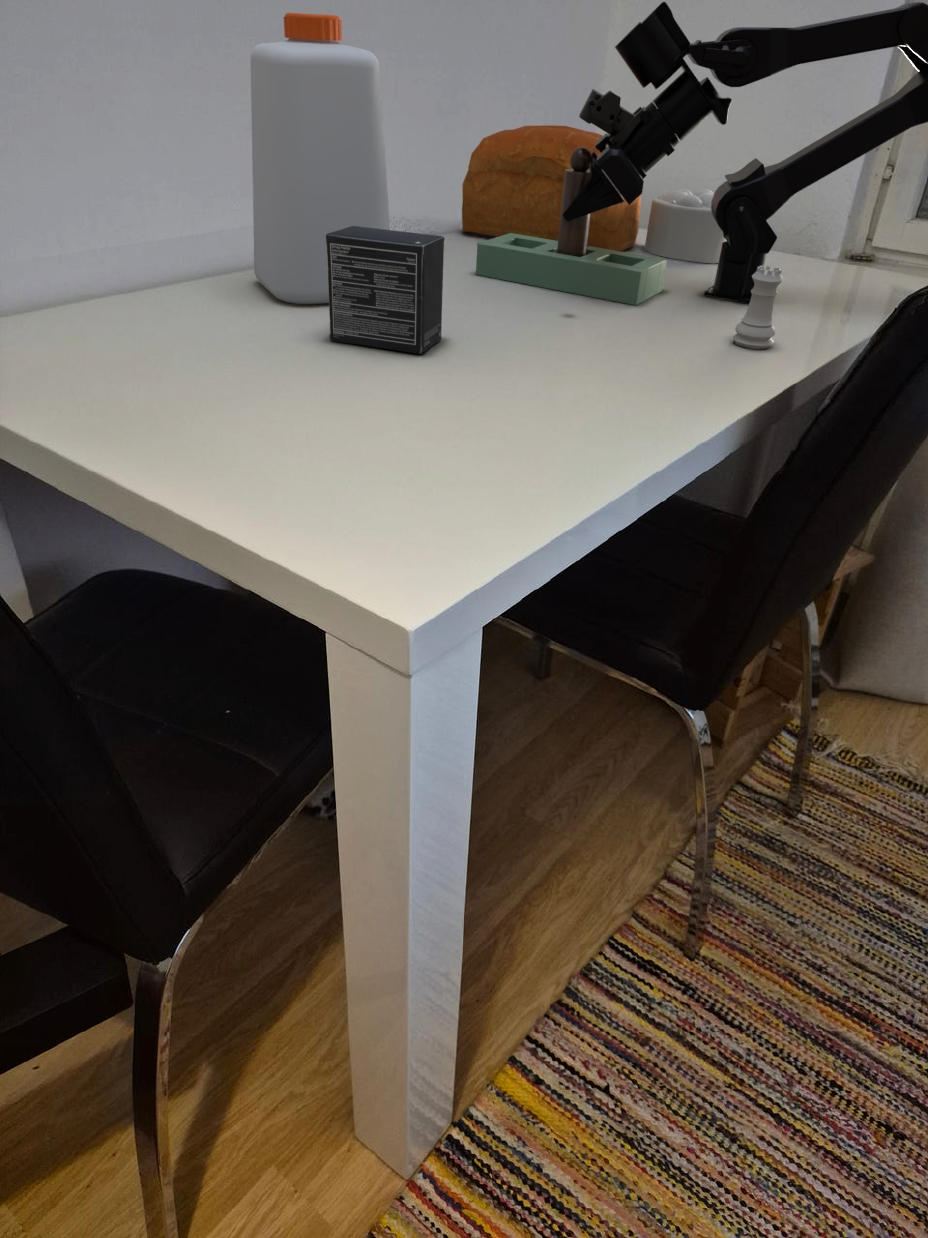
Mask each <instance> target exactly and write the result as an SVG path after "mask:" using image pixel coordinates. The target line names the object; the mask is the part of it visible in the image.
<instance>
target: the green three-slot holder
mask: <svg viewBox="0 0 928 1238" xmlns="http://www.w3.org/2000/svg"><path fill="white" fill-rule="evenodd" d="M476 244H477V245H476V247H477V248H476V261H475V263H476V264H475V275H477V276H481V277H486V278H490V279H491V278H492V279H497V280H502V281H507V282H513V283H519V284H522V285H528V286H533V287H539V288H544V289H548V290H549V289H550V290H555V291H559V292H565V293H570V294H574V295H579V296H586V297H591V298H596V299H601V300H606V301H612V302H615V303H616V302H617V303H622V304H627V305H632V306H637V305H640V304H641V303H643V302H644V301H646V300H649V299H650V298H652V297H654V296H656V295H658V294H660V293H661V292H663V287H664V283H665V276H666V270H667V264H668V258H663V257H656V256H651V255H645V254H638V253H633V252H626V251H615V250H609V249H603V248H597V247H591V246H587V249H586V255H585V256H582V257H577V256H571V255H565V254H559V253H557V246H558V241H555V240H549V239H543V238H537V237H531V236H525V235H519V234H513V233H509V234H506V235H503V236H499V237H494V238H490V239H487V240H483V241H480V242H477V243H476Z"/></svg>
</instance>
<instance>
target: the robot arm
mask: <svg viewBox="0 0 928 1238" xmlns="http://www.w3.org/2000/svg"><path fill="white" fill-rule="evenodd" d="M896 47H897V48H898V49H899V50H900V51H901V52H902V54H903V55H904V56H905V57H906V58H907V60H908V61H909V62H910V63H911V65H912V66H913V67H914V68H915V70H917V71H918V72H916V73H915V74H914V75H913V76H912V77H911V78H910V79H909V80H907V82H906V83H905V84H904V85H903V86H902V87H901V88H900V89H899V90H898V91H897V92H896V93H894V94H893V95H892V96H890V97H888V98H886V99H885V100H883V101H881V102H880V103H878V104H876V105H875V106H873V107H871V108H869V109H868V110H866V111H865V112H863V113H861V114H859V115H858V116H856V117H853V118H852V119H851V120H849V121H848V122H845V123H844V124H843V125H840V126H839V127H837V128H836V129H834V130H832V131H830V132H829V133H827V134H825V135H824V136H822V137H820V138H819V139H817V140H815V141H813V142H811V143H810V144H808V145H807V146H805V147H803V148H802V149H800V150H798V151H797V152H795V153H793V154H792V155H790V156H788V157H786V158H785V159H783V160H781V161H780V162H777V163H774V164H770V165H768V166H765V165H764V163H763V162H762V161H760V160H759V159H758V158H757V157H756V158H753V159H752V160H751V161H749V162H748V163H747V164H746V165H745V166H743V167H742V168H741V169H739V170H738V171H735V172H732V173H729V174H725V175H724V178H725V179H726V180H725V181H724V182H723V183H721V184H720V185H719V186H718V187H717V188H716V190H715V191H714V192H713V193H714V196H713V199H712V201H711V211H712V215H713V217H714V219H715V221H716V223H717V224H718V226H719V227H720V229H721V230H722V231H723V237H724V238H725V239H726V240H727V241H725V242H723V243H722V248H721V253H720V258H719V263H717V269H716V274H715V278H714V284H713V285H712V286H710V287H709V288H707V289H706V290H704V293H703V295H704V296H708V297H711V298H712V297H713V298H718V299H723V300H729V301H735V302H741V303H745V304H749V303H750V300H751V296H752V293H751V290H752V289H753V288H754V284H755V283H754V281H753V278H752V275H753V274H754V273H755V272H756V271H757V267H759V266H764V267H765V263H766V260H767V254H769V253H770V252H771V250H772V248H773V246H774V245H775V243H776V242H777V239H778V235H777V234H776V233H775V232H774V231H775V230H774V229H773V228H772V227H771V225H770V224H769V223H768V221H767V220H769V219H770V218H771V217H773V216H774V215H775V214H776V213H777V212H778V211H779V210H780V209H781V208H782V207H783V206H784V205H785V204H786V203H787V202H788V201H789V200H790V199H791V198H792V197H794V196H795V195H796V194H797V193H799V192H801V191H803V190H805V189H806V188H808V187H810V186H812V185H813V184H815V183H817V182H819V181H820V180H822V179H823V178H825V177H827V176H829V175H832V173H834V172H836V171H838V170H839V169H841V168H843V167H844V166H847V165H849V164H850V163H851V162H853V161H855V160H858V159H859V158H861V157H862V156H864V155H866V154H867V153H870V152H871V151H873V150H874V149H876V148H878V147H880V146H882V145H883V144H885V143H887V142H888V141H890V140H892V139H894V138H896V137H897V136H899V135H901V134H902V133H904V132H906V131H908V130H909V129H911V128H914V127H917V126H919V125H923V124H926V123H928V4H927V3H925V2H917V1H916V2H907V3H903V4H901V5H900V6H899V5H898V6H896V7H895V8H889V9H884V10H879V11H872V12H868V13H863V14H858V15H853V16H848V17H842V18H837V19H832V20H831V19H830V20H826V21H822V22H817V23H816V22H815V23H811V24H806V25H805V24H804V25H801V26H796V27H795V26H794V27H764V26H763V27H759V26H757V27H754V26H753V27H750V26H749V27H746V26H742V27H741V26H739V27H738V26H737V27H731V28H729V29H727V30H724V31H723V32H722V33H720V35H718V36H717V38H716V39H715V40H711V41H702V40H701V39H697V40H695V41H694V42H692V43H691V42H690V40H689V39H688V38H687V36H686V34H685V33H684V31H683V30H682V28H681V27H680V25H679V24H678V22H677V21H676V19H675V17H674V14H673V11H672V9H671V8H670V6H669V5H668V3H667V2H666V1H662V2H661V3H660V4H659V5H658V6H657V7H656V8H654V10H652V11H651V12H650V14H648V15H647V16H646V17H645V18H644V19H643V20H642V21H639V22H638V23H637V24H635V25H634V27H633V28H632V29H631V30H630V31H629V32H628V33H626V35H625V36H624V37H623V38H622V39H620V41H618V43H617V44H616V45H614V48H615V50H616V52H617V53H618V54H619V56H620V57H621V58H622V60H623V62H624V63H625V65H626V66H627V67H628V69H629V70H630V72H631V73H632V75H633V76H634V77H635V79H636V80H637V81H638V83H639V85H640V86H641V87H642V88H643V89H644V88H646V87H647V86H649V85H650V84H651V85H652V86H653V88H654V89H655V90H657V89H659V88H660V87H661V86H663V85H664V84H665V83H666V82H667V81H668V80H669V79H670V78H671V77H672V76H674V74H676V72H677V71H679V69H682V71H683V72H681V73H680V74H679V75H678V76H677V77H676V78H675V79H674V80H673V81H672V82H671V83H670V84H669V85H668V86H667V87H665V88H664V89H663V90H662V91H661V93H659V94H658V95H657V96H656V97H655V98H653V100H652V101H650V102H649V104H647V105H646V107H645V106H643V107H642V106H639V107H638V108H637V109H636V110H635V111H633V112H630V111H629V110H628V109H626V108H624V107H623V106H621V99H622V97H621V96H620V95H617V94H616V93H614V92H612V91H611V90H608V91H607V92H606V93H604V94H603V93H601V92H599V91H598V90H596V89H595V88H592V89H591V91H590V93H589V95H588V97H587V99H586V100H585V103H584V105H583V107H582V109H581V110H580V113H579V118H580V119H581V120H582V121H584V122H585V123H587V124H589V125H591V124H592V125H594V126H595V127H597V128H598V129H600V130H601V131H603V132H605V133H604V134H603V137H602V138H600V139H599V140H598V141H597V142H596V143H595V144H594V145H595V147H596V149H597V150H599V151H600V152H601V153H600V154H599V155H598V156H597V155H596V154H595V152H594V151H592V158H593V161H592V164H591V166H590V170H591V177H590V179H589V180H588V182H587V183H586V184H585V185H584V187H583V188H582V189H581V191H580V192H579V193H578V194H577V196H576V197H575V198H574V200H573V201H572V202H571V203H570V205H569V206H568V207H567V209H566V210H565V211H564V213H563V217H564V219H565V220H566V221H571V220H574V219H576V218H579V217H582V216H585V215H587V214H590V213H593V212H596V211H598V210H601V209H604V208H607V207H610V206H613V205H616V204H619V203H623V202H624V199H625V200H626V202H627V203H628V204H629V205H630V204H631V203H632V202H633V201H634V200H635V199H636V198H638V197H639V196H640V195H641V196H642V194H643V189H644V183H645V182H644V179H645V178H646V177H647V173H648V172H649V171H650V170H651V169H652V168H653V167H654V166H655V165H656V164H658V163H659V162H660V161H661V160H662V159H663V158H664V157H665V156H667V157H669V156H670V155H672V154H673V153H674V152H675V151H676V150H675V147H677V145H678V144H680V143H681V142H682V141H683V140H684V139H685V138H686V137H688V135H689V134H691V133H692V132H693V131H694V130H696V129H697V127H699V125H701V124H702V123H704V121H705V120H706V119H707V118H708V117H709V116H711V115H713V117H714V118H715V120H716V121H717V122H718V123H719V124H721V125H722V126H725V125H727V123H728V116H729V109H730V106H731V104H732V102H733V99H732V98H731V97H728V96H727V97H722V96H721V95H720V94H719V92H718V90H717V89H716V87H715V85H714V84H713V83H712V81H711V80H710V78H709V77H708V76H707V77H705V78H703V79H702V80H699V79H698V78H697V77H696V75H695V73H693V71H692V69H691V68H690V66H689V65H688V63H687V62H686V60H685V59H684V58H685V57H686V56H687V57H688V58H689V60H690V61H691V63H692V64H694V65H696V66H699V67H701V68H706V69H709V71H710V73H711V75H712V76H713V78H714V79H715V80H716V81H717V82H718V83H720V84H722V85H724V86H725V87H729V88H742V87H745V86H748V85H750V84H753V83H755V82H758V81H761V80H763V79H766V78H769V77H772V76H773V75H776V74H778V73H780V72H783V71H785V70H787V69H790V68H793V67H795V66H798V65H803V64H809V63H814V62H819V61H826V60H831V59H835V58H841V57H847V56H852V55H857V54H864V53H869V52H873V51H879V50H884V49H885V50H886V49H890V48H891V49H892V48H896Z"/></svg>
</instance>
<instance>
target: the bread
mask: <svg viewBox="0 0 928 1238" xmlns="http://www.w3.org/2000/svg"><path fill="white" fill-rule="evenodd" d="M603 136H604V134H600V133H597V132H594V131H588V130H584V129H580V128H576V127H571V126H568V125H555V124H554V125H553V124H552V125H551V124H550V125H548V124H547V125H523V126H520V127H517V128H513V129H503V130H500V131H497V132H495V133H492V134H490V135H487V136H485V137H483V138H482V140H481V141H480V142H479V144H477V146H476V147H475V149H474V150H473V151H472V152H471V155H470V158H469V162H468V167H467V172H466V174H465V177H464V179H463V182H462V184H461V185H462V187H461V190H462V204H461V226H462V227H461V228H462V231H463V232H465V233H466V232H467V233H470V234H471V233H472V234H475V235H477V234H478V235H483V236H490V237H494V238H496V237H499V236H503V235H506V234H509V233H513V234H519V235H525V236H531V237H537V238H543V239H549V240H555V241H558V236H559V225H560V215H561V204H562V194H563V183H564V173H565V169H572V167H571V165H570V156H571V154H572V152H573V151H574V150H575V149H577V148H579V147H585V148H587V149H588V150H589V151H590V152H591V154H592V151H594V152H595V154H596V155H597V156H598V155H599V154H600V153H601V152H600V151H599V150H597V149H596V147H595V145H594V144H595V143H596V142H597V141H598V140H599V139H600V138H602V137H603ZM588 170H590V168H589V169H588ZM641 206H642V194H641V195H640V196H639V197H638V198H636V199H635V200H634V201H633V202H632V203H631V204H630V205H629V204H628V203H627V202H626V200H625V199H624V202H623V203H619V204H616V205H613V206H610V207H607V208H604V209H601V210H598V211H596V212H593V213H591V214H590V223H589V232H588V241H587V246H591V247H597V248H603V249H609V250H615V251H621V252H624V251H626V250H628V249H629V248H631V247H634V246H635V245H636V241H637V237H638V234H639V226H640V214H641Z"/></svg>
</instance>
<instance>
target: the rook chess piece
mask: <svg viewBox="0 0 928 1238" xmlns="http://www.w3.org/2000/svg"><path fill="white" fill-rule="evenodd" d="M764 268H765V269H764ZM771 269H772V266H771V265H766V267H765V265H764V266H759V267H757V271H756V272H755V273H754V274H753V275H752V278H753V281H754V283H755V284H754V288H753V289H752V290H751V293H752V296H751V300H750V303H748V306H747V309H746V312H745V314H744V316H743V317H742V318H741V321H740V322H739V323H738V324H736V325H735V328H734V331H735V332H736V334H734V335H732V339H733V341H734V344H736V345H737V346H739V347H742V348H746V349H750V350H751V349H752V350H766V349H768V348H770V347H771V346H772V345H773V344H774V340H773V337H774V336H776V330H775V327H774V322H773V309H774V303H775V299H776V297H777V296H778V292H777V287H778V286H779V285H780V284H781V283H782V282H783V281H784V278H783V276H782V271H783V269H782V268H780V267H778V266H774V267H773V270H771Z"/></svg>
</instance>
